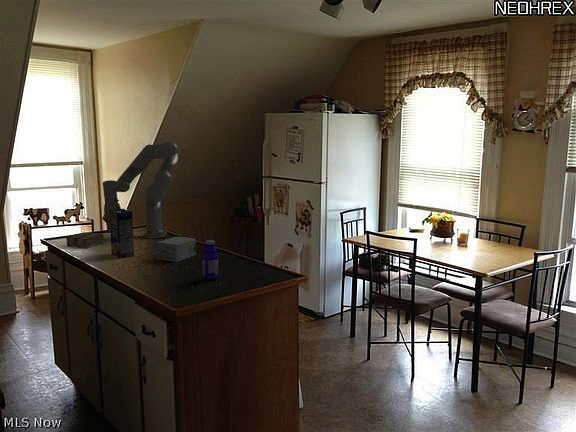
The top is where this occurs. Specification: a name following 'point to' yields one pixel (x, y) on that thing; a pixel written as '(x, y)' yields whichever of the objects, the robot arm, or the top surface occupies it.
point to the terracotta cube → (108, 227)
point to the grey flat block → (85, 240)
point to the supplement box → (175, 249)
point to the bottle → (210, 261)
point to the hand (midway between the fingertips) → (114, 230)
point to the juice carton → (121, 233)
